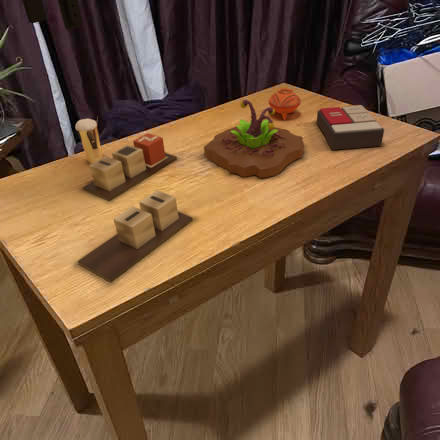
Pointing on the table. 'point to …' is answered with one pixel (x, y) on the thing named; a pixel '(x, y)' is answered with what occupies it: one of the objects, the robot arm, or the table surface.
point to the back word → (122, 171)
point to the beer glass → (89, 139)
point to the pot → (284, 101)
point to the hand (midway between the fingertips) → (55, 24)
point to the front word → (136, 235)
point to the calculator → (349, 127)
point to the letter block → (151, 148)
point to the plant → (255, 146)
